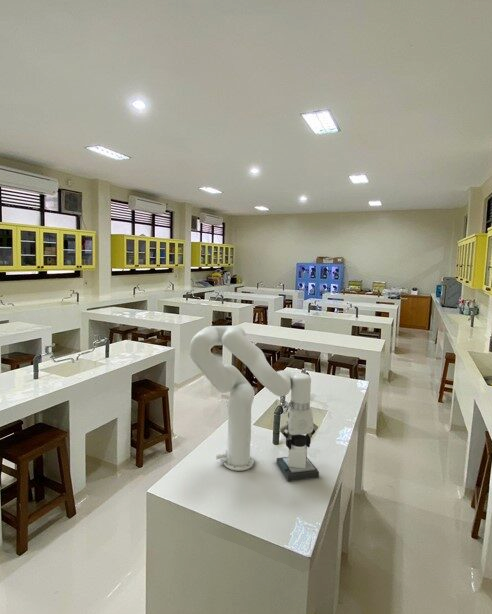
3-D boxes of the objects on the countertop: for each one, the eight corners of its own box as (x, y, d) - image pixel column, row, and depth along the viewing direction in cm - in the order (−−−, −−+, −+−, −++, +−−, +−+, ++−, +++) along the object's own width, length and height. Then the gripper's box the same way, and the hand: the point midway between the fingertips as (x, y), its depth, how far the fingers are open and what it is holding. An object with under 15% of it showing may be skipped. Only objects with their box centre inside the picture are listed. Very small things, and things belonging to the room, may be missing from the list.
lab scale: (287, 481, 145) (288, 474, 145) (276, 463, 158) (276, 456, 157) (318, 477, 148) (319, 470, 148) (305, 460, 161) (305, 453, 160)
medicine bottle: (306, 469, 149) (307, 440, 147) (287, 466, 150) (289, 438, 148) (306, 459, 155) (307, 432, 154) (288, 457, 157) (290, 430, 155)
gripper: (283, 410, 144) (281, 453, 146) (324, 406, 148) (322, 449, 150) (276, 402, 151) (274, 444, 153) (316, 399, 155) (313, 440, 157)
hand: (298, 446), depth 152 cm, fingers closed on medicine bottle, 7 cm apart
